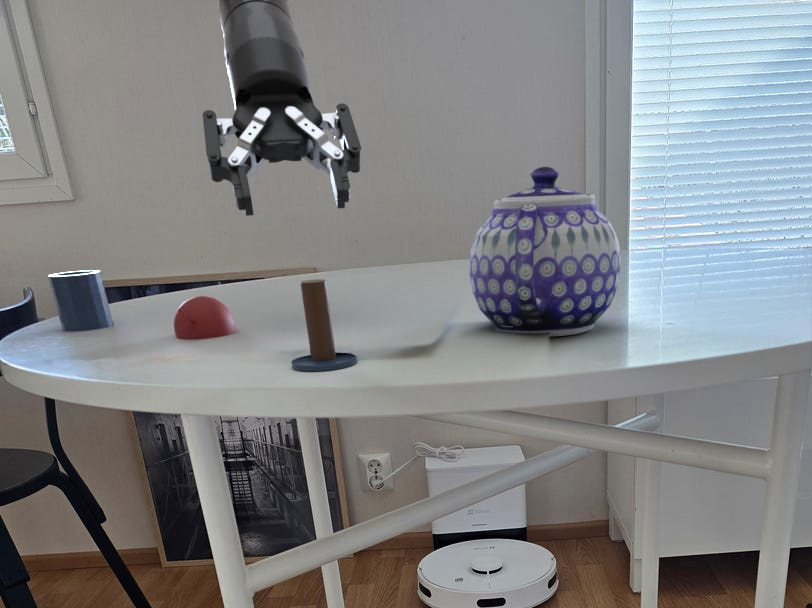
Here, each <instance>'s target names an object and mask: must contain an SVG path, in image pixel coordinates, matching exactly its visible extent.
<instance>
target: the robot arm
mask: <svg viewBox="0 0 812 608" xmlns="http://www.w3.org/2000/svg"><path fill="white" fill-rule="evenodd" d="M217 5H218V6H217V7H218V14H219V19H220V20H219V21H220V25H221V30H222V35H223V49H224V50H223V51H224V61H225V66H226V69H227V75H228V80H229V85H230V90H231V95H232V101H233V105H234V113H233V116H232V117H217V114H216V112H215V111H213V110H210V109H209V110H208V109H207V110H204V111H203V113H202V122H203V123H202V124H203V132H204V143H205V151H206V152H205V153H206V159H207V162H208V167H209V174H210V175H209V176H210V178H211V181H213V182H214V183H221V182H222V181H224V180H225V181H228V182H230V183H231V185H232V188H233V194H234V200H235V205H236V208H237V209H238V210H239V211H244V212H245V216H246V217H248V216H249V217H250V216H254V208H253V202H252V194H251V190H250V185H249V184H250V183H249V179H248V178H249V177H250V176H251V174H256V173H257V171H258V170H259V168H260V167H261V165H262V164H263V163H264V162H265V161H268V163H269V164H273V163H274V164H275V163H280V162H283V161H287V162H288V161H289V162H302V159H304V160H305V161H307V162H308V163H309V164H310V165H311V166H313V167H314V168H315V169H317V170H320V169H321V170H323V171H324V172H325V173H327V174H328V175H329V176H330V183H331V187H332V192H333V197H334V201H335V206H336V210H337V209H338V210H339V209H346V203H349V202H350V200H351V184H350V179H349V176H348V175H349V174H348V173H353V174H356V173H359V172H360V171H361V170H362V145H361V143H360V140H359V135H358V133H357V130H356V126H355V123H354V119H353V116H352V114H351V111H350V107H349V105H347V104H346V103H344V102H343V103H342V102H341V103H338V104H337V105H336V106H335V111H333V112H323V113H321V111H320V110H319V108H317V107H316V105H315V102H314V98H313V94H312V90H311V89H312V88H311V86H310V85H311V83H310V80H309V76H308V72H307V67H306V58H305V54H304V51H303V49H302V46H301V42H300V40H299V37H298V35H297V32H296V29H295V25H294V19H293V16H292V12H291V6H290V3H289V1H288V0H217ZM323 130H328V131H329V132H330V134H331V135H332V136H334V139H335V140H336V141H339V142H340V146H341V148H339V147H338V146H336V145H335V144H334V143H333V142H331V141H330V140H329V138H328V136H327V134H326V132H325V131H323ZM231 135H234V136H235V137H236V138H237V139H238V140H237V145H236V146H235V148H234V150H233V151H232V152H231V154H230V155H229V156H228V157H226V156H223V154H222V147H223V148H225V146H226V143H227V142H228V141H229V137H230V136H231Z"/></svg>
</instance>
